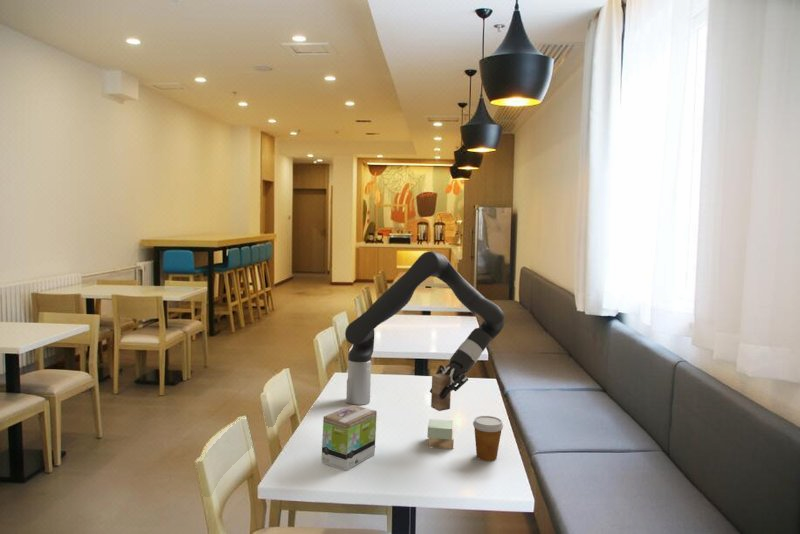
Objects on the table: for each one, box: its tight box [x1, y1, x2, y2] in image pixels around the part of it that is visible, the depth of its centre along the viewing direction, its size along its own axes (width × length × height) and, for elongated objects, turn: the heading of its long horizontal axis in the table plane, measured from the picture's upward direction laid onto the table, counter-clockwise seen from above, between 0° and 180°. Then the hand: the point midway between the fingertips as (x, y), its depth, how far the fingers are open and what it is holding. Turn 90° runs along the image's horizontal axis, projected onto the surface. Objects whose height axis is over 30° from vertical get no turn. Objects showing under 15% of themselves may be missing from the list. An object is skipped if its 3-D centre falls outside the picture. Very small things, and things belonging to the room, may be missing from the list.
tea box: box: [320, 404, 378, 472], centre depth 178 cm, size 15×10×15 cm, turn 148°
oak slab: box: [428, 430, 455, 450], centre depth 193 cm, size 8×8×4 cm
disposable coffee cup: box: [472, 415, 504, 462], centre depth 183 cm, size 10×10×12 cm
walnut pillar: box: [430, 373, 452, 412], centre depth 191 cm, size 4×4×11 cm
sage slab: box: [427, 418, 454, 439], centre depth 193 cm, size 8×8×4 cm
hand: (436, 395), depth 190 cm, fingers closed on walnut pillar, 4 cm apart
